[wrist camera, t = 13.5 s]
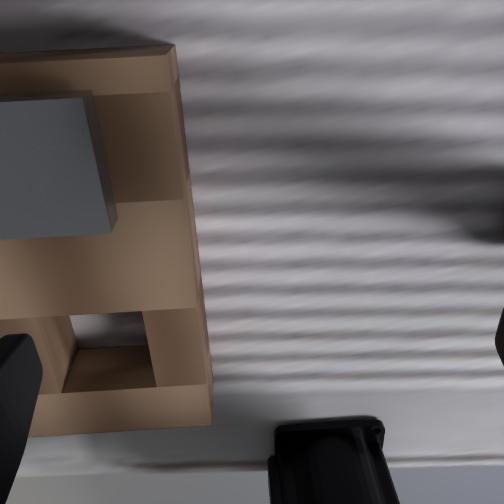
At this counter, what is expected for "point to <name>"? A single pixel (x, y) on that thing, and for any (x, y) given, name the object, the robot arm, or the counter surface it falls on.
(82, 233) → the gray rectangular block
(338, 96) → the counter surface
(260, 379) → the counter surface
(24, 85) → the socket block
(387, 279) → the counter surface
